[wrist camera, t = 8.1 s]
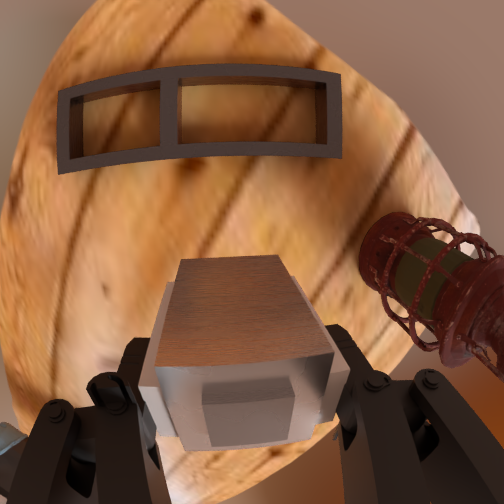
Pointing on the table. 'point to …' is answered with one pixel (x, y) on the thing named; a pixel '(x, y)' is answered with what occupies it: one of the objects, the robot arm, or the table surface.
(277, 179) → the table surface
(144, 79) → the dark grey divided frame
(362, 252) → the lantern
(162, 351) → the block
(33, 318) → the table surface
